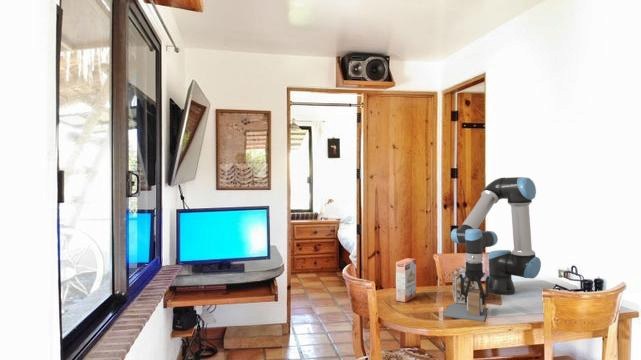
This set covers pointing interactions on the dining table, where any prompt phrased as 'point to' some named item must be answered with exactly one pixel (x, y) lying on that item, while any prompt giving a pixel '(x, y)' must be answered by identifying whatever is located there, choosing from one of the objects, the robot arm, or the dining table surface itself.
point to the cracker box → (405, 279)
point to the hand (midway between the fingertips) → (475, 310)
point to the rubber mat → (464, 313)
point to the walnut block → (474, 302)
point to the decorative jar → (457, 285)
